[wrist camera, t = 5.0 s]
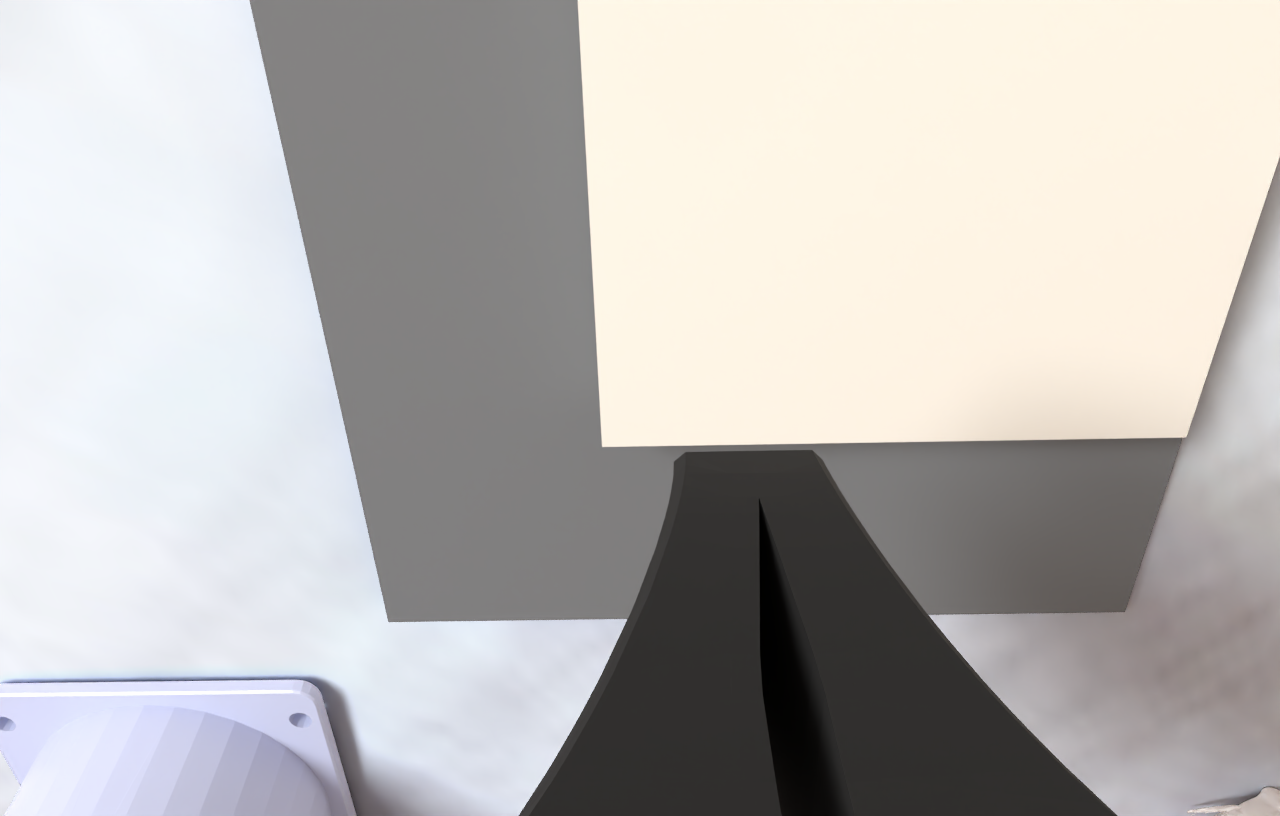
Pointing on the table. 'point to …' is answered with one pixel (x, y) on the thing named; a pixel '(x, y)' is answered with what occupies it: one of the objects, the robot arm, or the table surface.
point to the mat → (581, 348)
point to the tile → (919, 213)
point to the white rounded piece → (1250, 805)
